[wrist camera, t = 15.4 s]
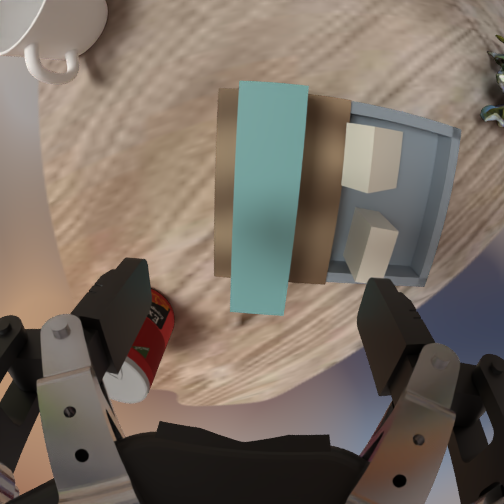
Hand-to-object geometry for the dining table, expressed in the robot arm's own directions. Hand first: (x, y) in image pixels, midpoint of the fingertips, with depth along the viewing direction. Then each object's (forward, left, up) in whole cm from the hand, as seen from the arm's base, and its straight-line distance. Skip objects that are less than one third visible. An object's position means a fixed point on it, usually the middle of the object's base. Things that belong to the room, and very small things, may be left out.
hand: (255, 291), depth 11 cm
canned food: (+16, -13, -18) cm, 27 cm away
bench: (0, +1, -18) cm, 18 cm away
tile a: (-4, +8, -16) cm, 18 cm away
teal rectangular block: (0, 0, -14) cm, 14 cm away
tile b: (+4, +8, -15) cm, 17 cm away
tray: (0, +12, -18) cm, 21 cm away
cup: (-15, -19, -18) cm, 30 cm away
